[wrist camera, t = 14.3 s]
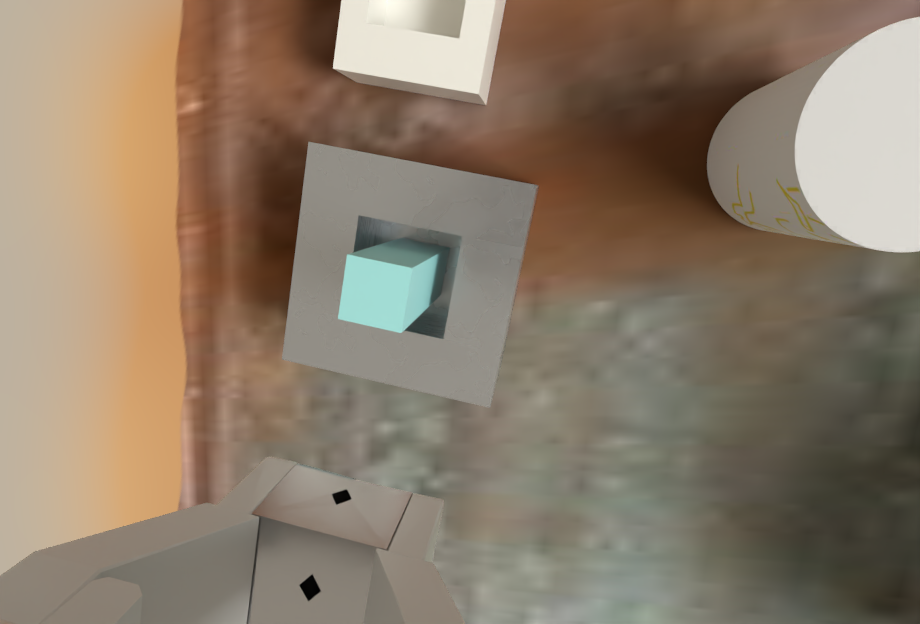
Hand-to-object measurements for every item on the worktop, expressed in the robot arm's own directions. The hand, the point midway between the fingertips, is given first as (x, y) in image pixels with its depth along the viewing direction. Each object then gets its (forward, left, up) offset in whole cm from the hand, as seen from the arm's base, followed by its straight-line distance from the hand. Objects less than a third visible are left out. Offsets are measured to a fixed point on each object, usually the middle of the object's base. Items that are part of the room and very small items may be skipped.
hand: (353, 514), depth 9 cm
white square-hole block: (-15, -7, -27) cm, 32 cm away
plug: (0, -5, -26) cm, 27 cm away
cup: (-10, +14, -28) cm, 33 cm away
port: (0, -5, -27) cm, 28 cm away
